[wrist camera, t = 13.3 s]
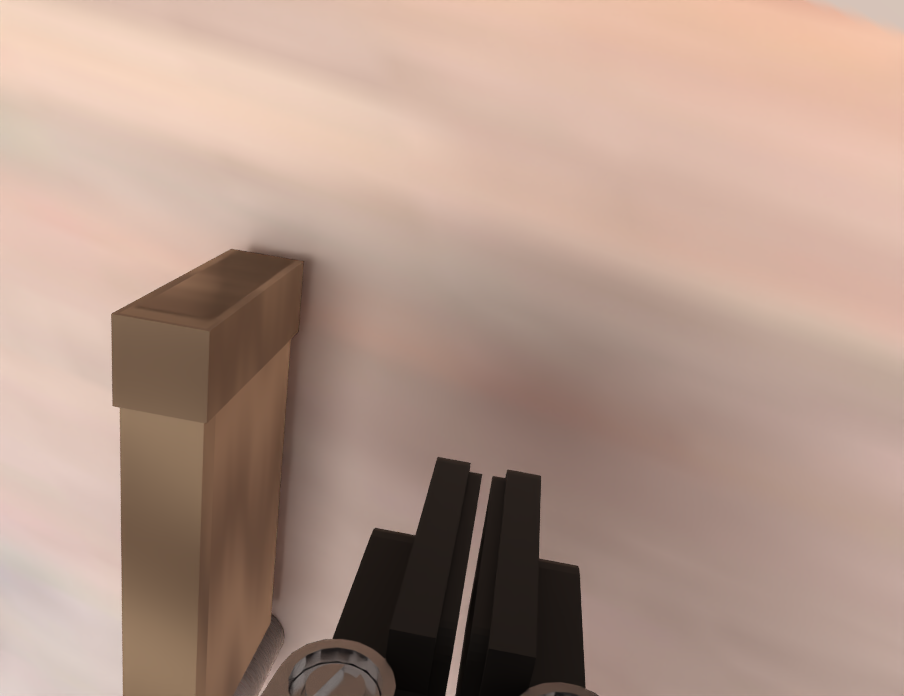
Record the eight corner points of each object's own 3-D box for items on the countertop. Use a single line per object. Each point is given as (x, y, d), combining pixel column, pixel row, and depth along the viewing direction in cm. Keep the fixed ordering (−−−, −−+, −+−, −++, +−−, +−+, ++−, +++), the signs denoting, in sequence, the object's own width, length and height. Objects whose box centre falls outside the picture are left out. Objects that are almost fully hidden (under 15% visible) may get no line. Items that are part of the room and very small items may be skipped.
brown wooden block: (276, 624, 25) (195, 785, 19) (216, 612, 25) (117, 768, 19) (303, 261, 21) (209, 331, 15) (231, 249, 21) (111, 313, 15)
